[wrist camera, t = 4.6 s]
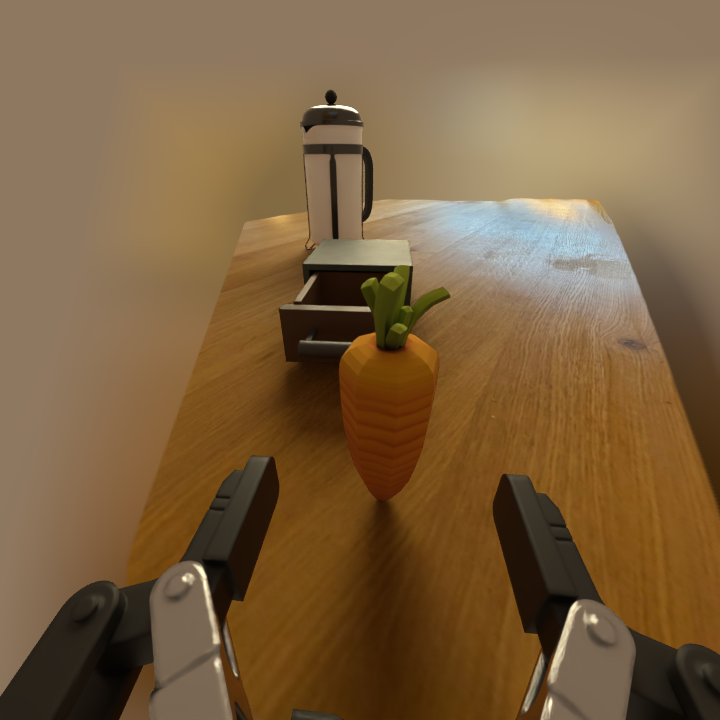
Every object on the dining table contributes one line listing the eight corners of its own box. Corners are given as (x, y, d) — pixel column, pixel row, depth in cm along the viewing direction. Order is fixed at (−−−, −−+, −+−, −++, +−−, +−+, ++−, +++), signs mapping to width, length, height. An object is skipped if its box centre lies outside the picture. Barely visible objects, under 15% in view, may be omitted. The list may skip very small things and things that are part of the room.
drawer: (409, 393, 29) (414, 335, 26) (272, 386, 30) (263, 329, 27) (404, 312, 45) (407, 270, 42) (313, 310, 45) (309, 267, 42)
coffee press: (371, 256, 73) (374, 82, 58) (300, 256, 74) (283, 82, 58) (372, 240, 88) (374, 97, 73) (312, 239, 89) (301, 98, 73)
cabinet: (408, 323, 44) (413, 265, 40) (307, 319, 45) (302, 263, 41) (405, 286, 56) (408, 240, 52) (326, 284, 57) (323, 238, 53)
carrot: (376, 455, 24) (383, 245, 17) (436, 494, 22) (478, 263, 14) (328, 500, 21) (308, 266, 13) (390, 552, 18) (412, 294, 11)
